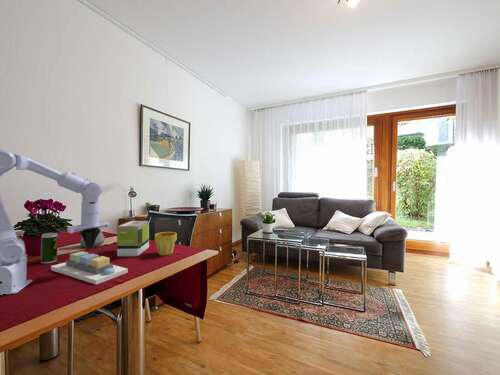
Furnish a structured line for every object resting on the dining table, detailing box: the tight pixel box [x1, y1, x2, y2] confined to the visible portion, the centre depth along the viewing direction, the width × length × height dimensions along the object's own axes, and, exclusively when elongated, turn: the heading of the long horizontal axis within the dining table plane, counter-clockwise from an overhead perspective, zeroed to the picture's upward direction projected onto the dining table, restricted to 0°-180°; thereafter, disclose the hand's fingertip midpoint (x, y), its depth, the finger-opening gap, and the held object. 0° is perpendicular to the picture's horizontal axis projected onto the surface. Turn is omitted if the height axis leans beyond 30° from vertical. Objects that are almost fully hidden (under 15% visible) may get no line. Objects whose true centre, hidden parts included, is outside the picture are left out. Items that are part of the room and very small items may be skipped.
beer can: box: [40, 232, 59, 265], centre depth 97 cm, size 5×5×12 cm
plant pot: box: [154, 231, 178, 256], centre depth 112 cm, size 10×10×10 cm
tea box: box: [116, 220, 150, 257], centre depth 114 cm, size 15×10×15 cm, turn 5°
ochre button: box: [90, 255, 111, 268], centre depth 85 cm, size 4×4×3 cm
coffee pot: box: [79, 221, 106, 248], centre depth 118 cm, size 21×12×15 cm, turn 35°
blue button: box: [80, 253, 100, 265], centre depth 88 cm, size 4×4×3 cm
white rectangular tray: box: [50, 259, 129, 285], centre depth 88 cm, size 28×12×4 cm, turn 66°
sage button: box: [69, 251, 90, 262], centre depth 90 cm, size 4×4×3 cm
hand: (89, 248), depth 87 cm, fingers closed
